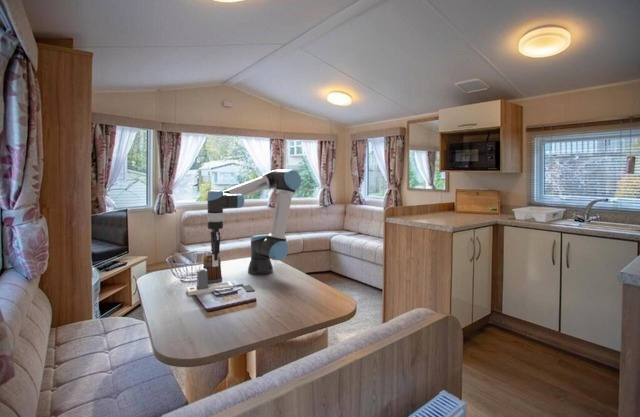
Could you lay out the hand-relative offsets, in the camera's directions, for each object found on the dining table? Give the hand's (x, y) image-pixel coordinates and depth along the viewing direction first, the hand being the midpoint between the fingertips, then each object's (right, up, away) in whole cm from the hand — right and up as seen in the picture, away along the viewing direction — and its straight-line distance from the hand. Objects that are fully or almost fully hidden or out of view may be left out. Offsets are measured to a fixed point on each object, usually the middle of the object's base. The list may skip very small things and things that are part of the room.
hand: (215, 266), depth 181 cm
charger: (-6, -13, -2) cm, 14 cm away
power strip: (0, -13, +2) cm, 13 cm away
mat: (+14, -13, +5) cm, 20 cm away
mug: (-6, -12, +17) cm, 21 cm away
